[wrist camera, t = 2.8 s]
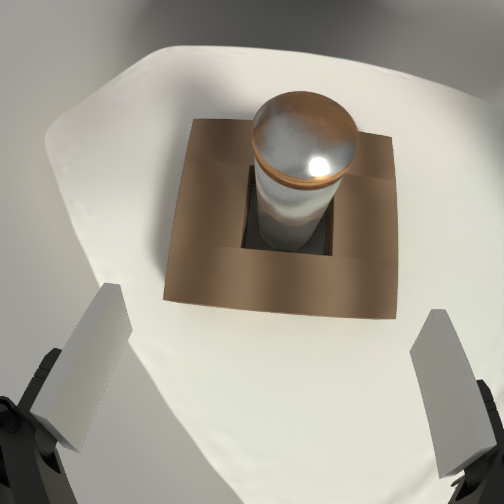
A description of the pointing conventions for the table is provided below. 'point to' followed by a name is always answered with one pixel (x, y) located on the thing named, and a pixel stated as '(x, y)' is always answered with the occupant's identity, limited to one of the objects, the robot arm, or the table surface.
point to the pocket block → (273, 262)
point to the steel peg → (299, 163)
